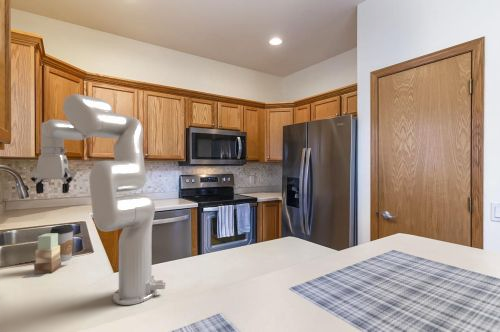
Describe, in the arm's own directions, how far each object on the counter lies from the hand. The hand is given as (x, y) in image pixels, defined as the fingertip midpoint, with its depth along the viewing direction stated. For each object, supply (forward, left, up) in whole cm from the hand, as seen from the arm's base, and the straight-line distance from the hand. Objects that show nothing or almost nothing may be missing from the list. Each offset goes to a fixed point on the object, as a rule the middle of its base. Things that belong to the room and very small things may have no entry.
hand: (52, 193), depth 107 cm
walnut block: (-3, +8, -30) cm, 31 cm away
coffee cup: (-1, -5, -31) cm, 31 cm away
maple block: (-3, +8, -26) cm, 27 cm away
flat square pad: (-3, +8, -30) cm, 31 cm away
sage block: (-3, +8, -20) cm, 22 cm away
